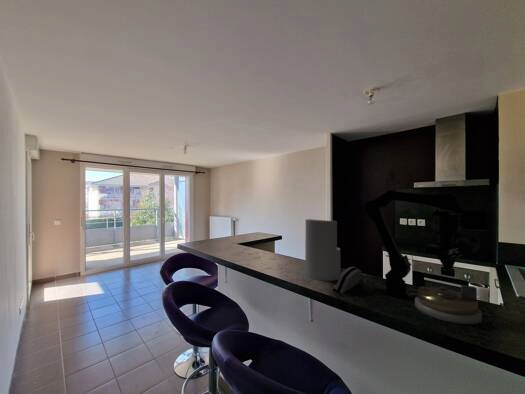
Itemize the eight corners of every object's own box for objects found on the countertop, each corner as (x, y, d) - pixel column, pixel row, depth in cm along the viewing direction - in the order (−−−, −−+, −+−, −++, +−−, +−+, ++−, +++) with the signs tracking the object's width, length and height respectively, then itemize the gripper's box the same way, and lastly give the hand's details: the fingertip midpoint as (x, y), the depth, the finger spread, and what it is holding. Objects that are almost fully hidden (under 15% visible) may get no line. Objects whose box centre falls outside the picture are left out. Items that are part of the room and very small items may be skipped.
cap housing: (417, 296, 94) (417, 291, 94) (479, 309, 82) (479, 303, 83) (411, 312, 80) (411, 306, 80) (485, 330, 68) (485, 323, 68)
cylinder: (325, 283, 109) (325, 221, 110) (298, 273, 123) (298, 219, 124) (347, 276, 119) (347, 220, 120) (320, 268, 133) (320, 218, 134)
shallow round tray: (419, 307, 78) (419, 285, 78) (416, 292, 92) (416, 274, 92) (484, 319, 70) (483, 295, 70) (470, 301, 84) (470, 281, 84)
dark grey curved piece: (347, 281, 112) (354, 262, 110) (356, 286, 109) (364, 267, 107) (330, 290, 100) (338, 269, 98) (341, 297, 97) (349, 275, 95)
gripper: (458, 232, 74) (459, 282, 74) (490, 230, 82) (491, 276, 81) (422, 228, 85) (423, 273, 84) (453, 227, 92) (454, 267, 92)
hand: (448, 272), depth 85 cm, fingers closed
